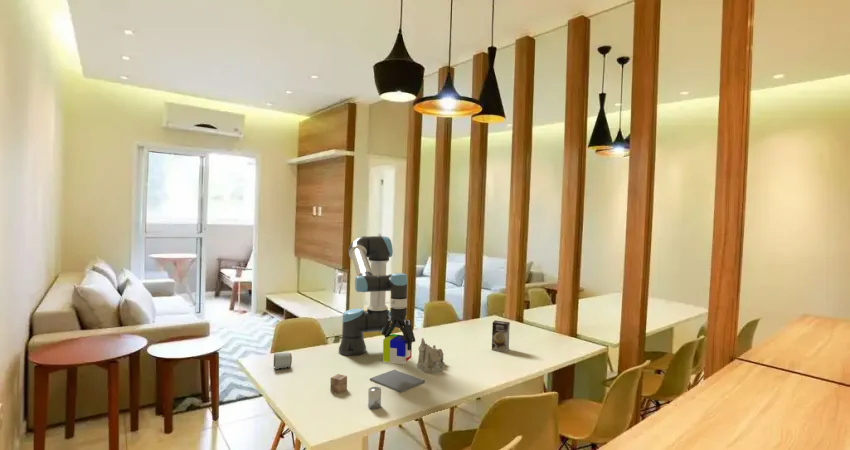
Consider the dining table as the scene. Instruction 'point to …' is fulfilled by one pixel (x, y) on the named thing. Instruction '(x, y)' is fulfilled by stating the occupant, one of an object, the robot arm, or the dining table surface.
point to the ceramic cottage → (430, 359)
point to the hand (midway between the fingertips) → (397, 353)
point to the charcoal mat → (397, 380)
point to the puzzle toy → (395, 349)
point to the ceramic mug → (282, 360)
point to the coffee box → (500, 336)
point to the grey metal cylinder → (374, 398)
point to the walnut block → (338, 383)
